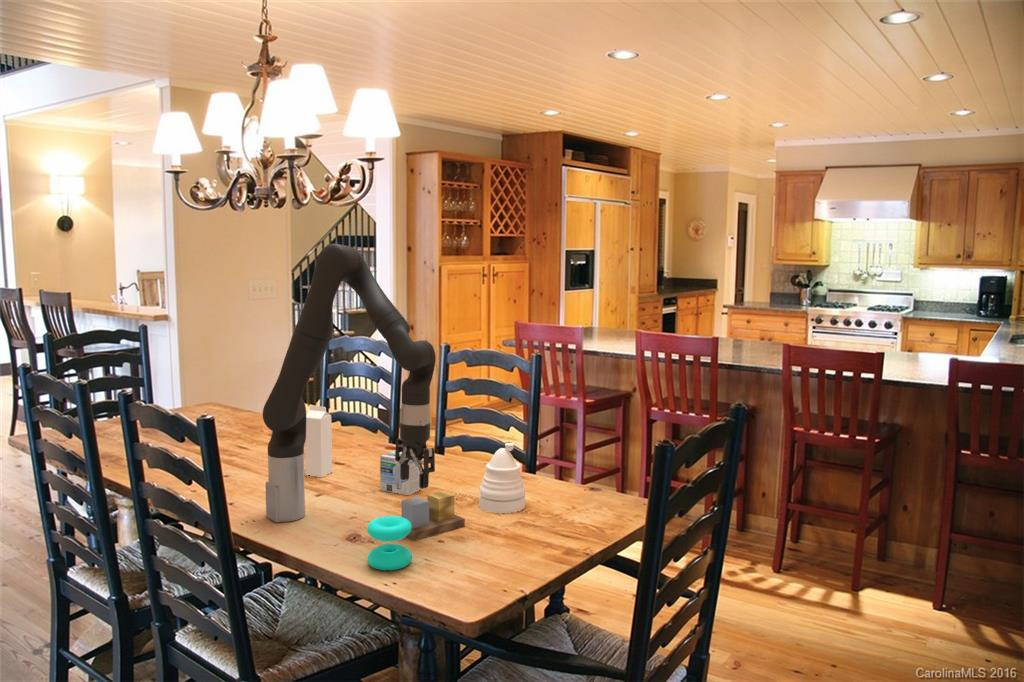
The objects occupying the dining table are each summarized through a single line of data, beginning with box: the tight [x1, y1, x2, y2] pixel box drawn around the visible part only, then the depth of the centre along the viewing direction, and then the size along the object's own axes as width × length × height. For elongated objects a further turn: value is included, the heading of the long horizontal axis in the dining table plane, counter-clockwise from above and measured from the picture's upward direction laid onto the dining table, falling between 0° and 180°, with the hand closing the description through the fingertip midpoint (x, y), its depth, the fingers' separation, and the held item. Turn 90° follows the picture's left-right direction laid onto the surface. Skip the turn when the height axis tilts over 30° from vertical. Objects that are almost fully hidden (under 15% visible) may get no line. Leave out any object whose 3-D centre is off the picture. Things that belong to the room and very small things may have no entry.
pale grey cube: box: [401, 496, 429, 529], centre depth 198 cm, size 5×5×6 cm
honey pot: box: [478, 442, 526, 514], centre depth 218 cm, size 13×13×18 cm
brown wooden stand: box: [405, 490, 466, 542], centre depth 201 cm, size 16×10×8 cm, turn 131°
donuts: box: [366, 515, 413, 571], centre depth 178 cm, size 10×10×10 cm
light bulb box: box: [379, 450, 422, 496], centre depth 232 cm, size 11×7×11 cm, turn 62°
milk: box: [304, 405, 333, 478], centre depth 246 cm, size 6×6×22 cm
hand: (414, 483), depth 197 cm, fingers open, 8 cm apart
